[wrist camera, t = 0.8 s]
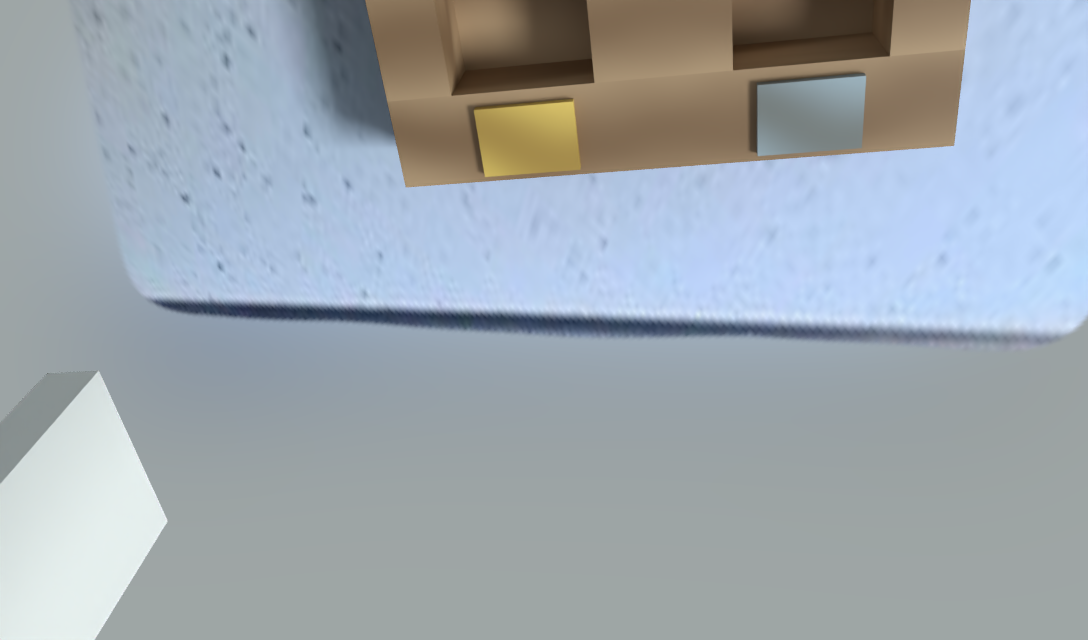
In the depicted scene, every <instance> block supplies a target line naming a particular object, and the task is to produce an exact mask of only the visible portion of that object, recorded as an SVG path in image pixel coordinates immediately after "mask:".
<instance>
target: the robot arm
mask: <svg viewBox="0 0 1088 640" xmlns="http://www.w3.org/2000/svg"><path fill="white" fill-rule="evenodd" d="M166 523H167V519H166V516H165V514H164V512H163V510H162V508H161V506H160V503H159V502H158V499H157V497H156V495H155V493H154V491H153V488H152V486H151V484H150V482H149V479H148V477H147V475H146V473H145V471H144V469H143V466H142V464H141V462H140V460H139V458H138V455H137V453H136V451H135V449H134V447H133V445H132V442H131V440H130V438H129V436H128V434H127V431H126V429H125V427H124V425H123V423H122V421H121V419H120V416H119V414H118V412H117V410H116V407H115V405H114V403H113V401H112V399H111V397H110V394H109V392H108V390H107V388H106V386H105V384H104V382H103V379H102V377H101V375H100V373H99V371H85V372H65V373H47V374H46V375H45V376H44V377H43V378H42V379H41V380H40V381H39V382H38V383H37V384H36V385H35V386H34V387H33V389H32V390H31V391H30V392H29V393H28V394H27V395H26V396H25V397H24V398H23V399H22V400H21V401H20V402H19V403H18V404H17V405H16V406H15V407H14V409H13V410H12V411H11V412H10V413H9V414H8V415H7V416H6V417H5V418H4V419H3V420H2V421H1V422H0V640H95V638H96V636H97V635H98V633H99V631H100V630H101V628H102V626H103V625H104V623H105V622H106V620H107V618H108V617H109V615H110V614H111V612H112V610H113V609H114V607H115V606H116V604H117V602H118V600H119V599H120V598H121V596H122V594H123V593H124V591H125V589H126V588H127V586H128V585H129V583H130V581H131V580H132V578H133V576H134V575H135V573H136V572H137V570H138V568H139V567H140V565H141V563H142V562H143V560H144V558H145V557H146V555H147V554H148V552H149V550H150V549H151V547H152V545H153V544H154V542H155V541H156V539H157V537H158V536H159V534H160V532H161V531H162V529H163V528H164V526H165V524H166Z"/></svg>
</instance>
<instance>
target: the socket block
mask: <svg viewBox="0 0 1088 640" xmlns="http://www.w3.org/2000/svg"><path fill="white" fill-rule="evenodd" d="M365 2H366V6H367V11H368V16H369V20H370V25H371V29H372V34H373V38H374V43H375V48H376V52H377V57H378V61H379V66H380V71H381V75H382V80H383V84H384V89H385V94H386V98H387V103H388V107H389V112H390V117H391V121H392V126H393V130H394V135H395V140H396V144H397V149H398V153H399V158H400V162H401V167H402V172H403V176H404V181H405V185H406V187H417V186H431V185H444V184H457V183H470V182H483V181H496V180H510V179H523V178H536V177H549V176H562V175H575V174H589V173H602V172H615V171H628V170H641V169H654V168H668V167H681V166H694V165H707V164H720V163H733V162H747V161H760V160H773V159H786V158H799V157H812V156H826V155H839V154H852V153H865V152H878V151H892V150H905V149H918V148H931V147H944V146H954V141H955V133H956V124H957V115H958V107H959V98H960V90H961V81H962V72H963V64H964V55H965V46H966V38H967V29H968V20H969V12H970V3H971V0H365Z"/></svg>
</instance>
